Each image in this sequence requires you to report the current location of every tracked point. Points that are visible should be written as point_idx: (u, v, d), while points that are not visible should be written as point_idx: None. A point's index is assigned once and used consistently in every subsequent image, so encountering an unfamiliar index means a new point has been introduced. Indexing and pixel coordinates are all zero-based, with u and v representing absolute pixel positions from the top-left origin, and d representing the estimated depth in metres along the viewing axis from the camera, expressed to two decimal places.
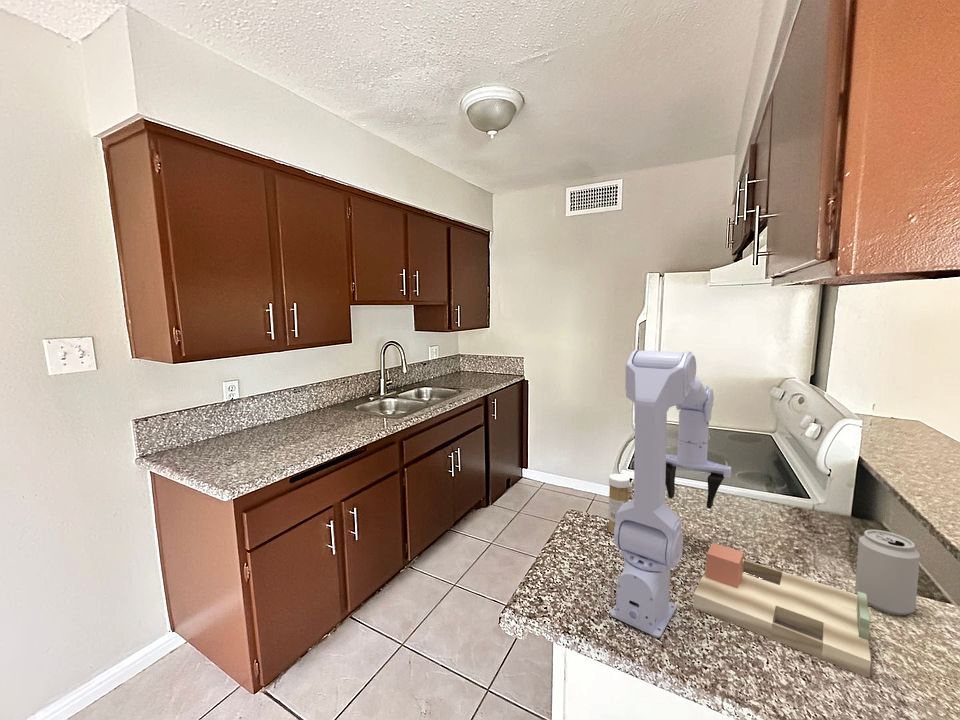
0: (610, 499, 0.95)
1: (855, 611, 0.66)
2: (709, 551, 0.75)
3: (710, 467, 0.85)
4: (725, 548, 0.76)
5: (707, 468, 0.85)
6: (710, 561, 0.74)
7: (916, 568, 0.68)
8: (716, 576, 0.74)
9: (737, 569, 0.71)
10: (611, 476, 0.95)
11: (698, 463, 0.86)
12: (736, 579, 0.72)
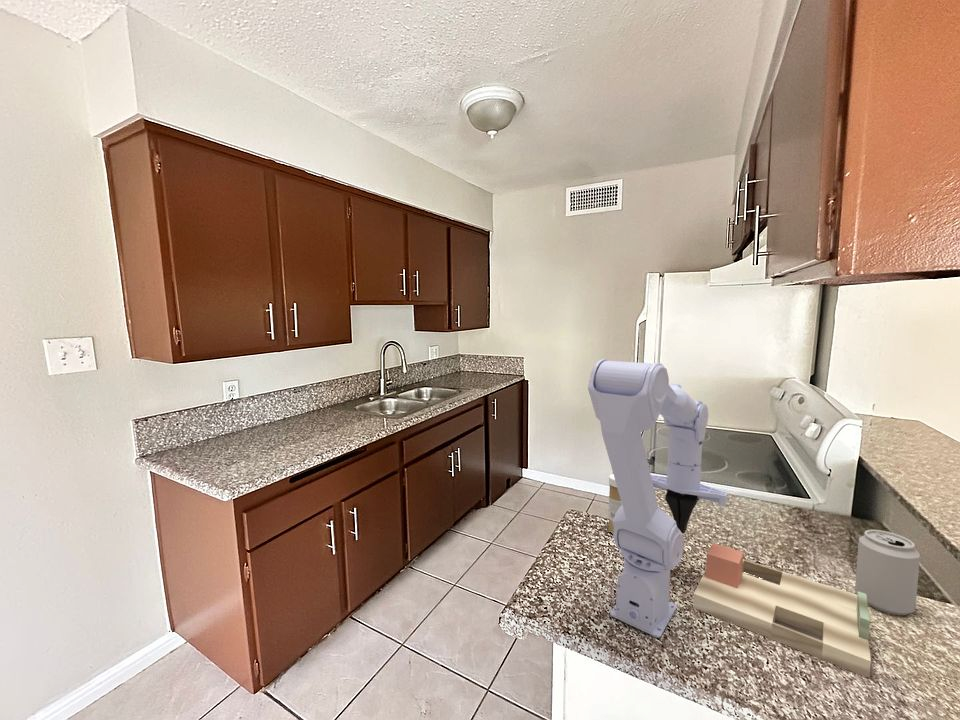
0: (610, 499, 0.95)
1: (855, 611, 0.66)
2: (709, 551, 0.75)
3: (703, 493, 0.75)
4: (725, 548, 0.76)
5: (700, 494, 0.75)
6: (710, 561, 0.74)
7: (916, 568, 0.68)
8: (716, 576, 0.74)
9: (737, 569, 0.71)
10: (611, 476, 0.95)
11: (690, 488, 0.76)
12: (736, 579, 0.72)
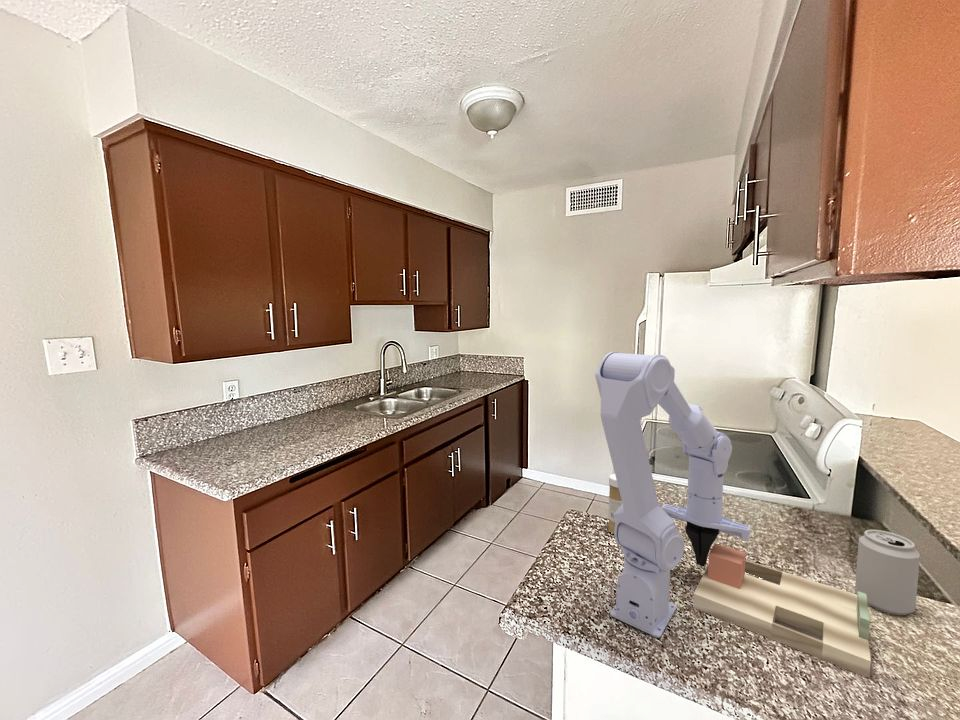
0: (610, 499, 0.95)
1: (855, 611, 0.66)
2: (711, 552, 0.75)
3: (726, 527, 0.73)
4: (727, 548, 0.76)
5: (722, 528, 0.73)
6: (712, 562, 0.74)
7: (916, 568, 0.68)
8: (718, 577, 0.73)
9: (739, 570, 0.71)
10: (611, 476, 0.95)
11: (711, 522, 0.74)
12: (738, 580, 0.71)
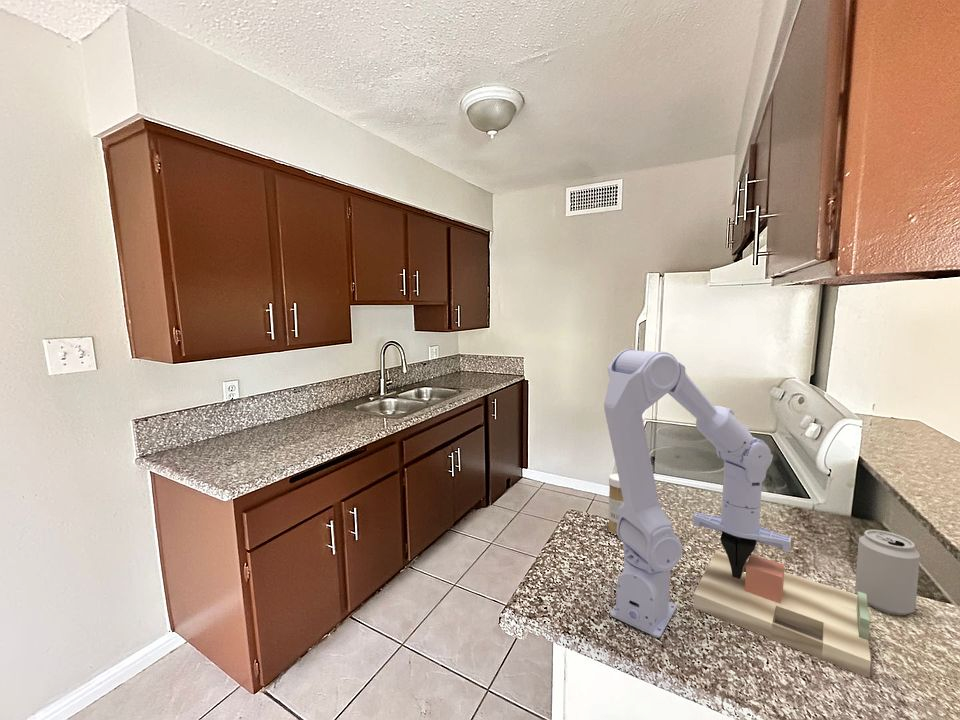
0: (610, 499, 0.95)
1: (855, 611, 0.66)
2: (748, 563, 0.71)
3: (765, 538, 0.69)
4: (764, 560, 0.72)
5: (761, 539, 0.69)
6: (749, 575, 0.70)
7: (916, 568, 0.68)
8: (756, 590, 0.70)
9: (780, 583, 0.68)
10: (611, 476, 0.95)
11: (749, 532, 0.70)
12: (779, 594, 0.68)
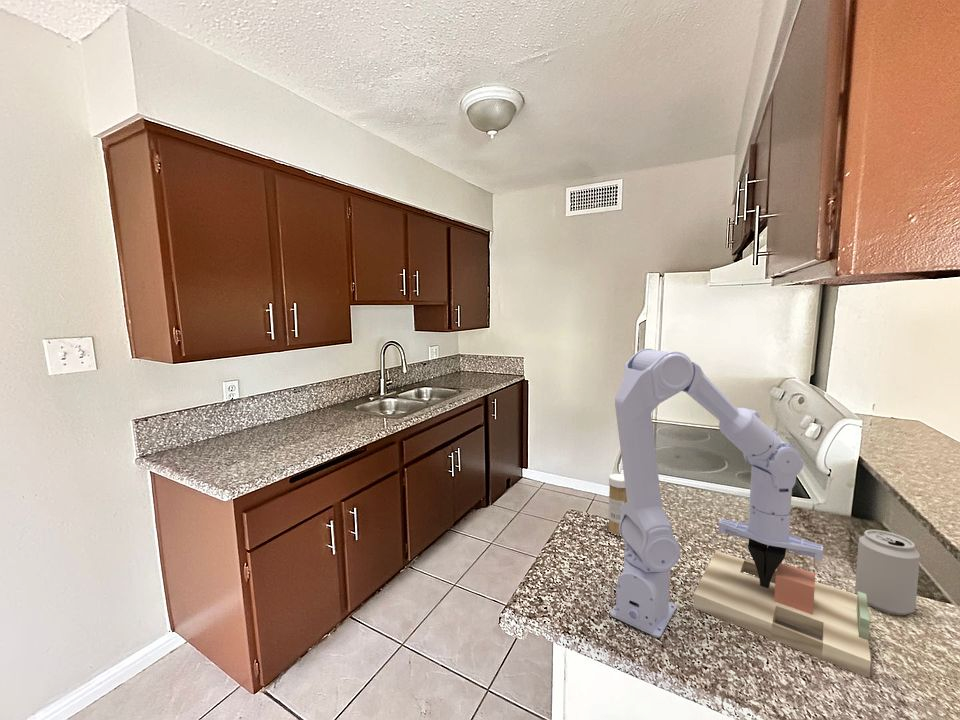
0: (610, 499, 0.95)
1: (855, 611, 0.66)
2: (778, 572, 0.69)
3: (796, 546, 0.66)
4: (794, 569, 0.70)
5: (792, 547, 0.67)
6: (779, 584, 0.68)
7: (916, 568, 0.68)
8: (787, 600, 0.67)
9: (812, 593, 0.65)
10: (611, 476, 0.95)
11: (779, 540, 0.67)
12: (811, 604, 0.65)
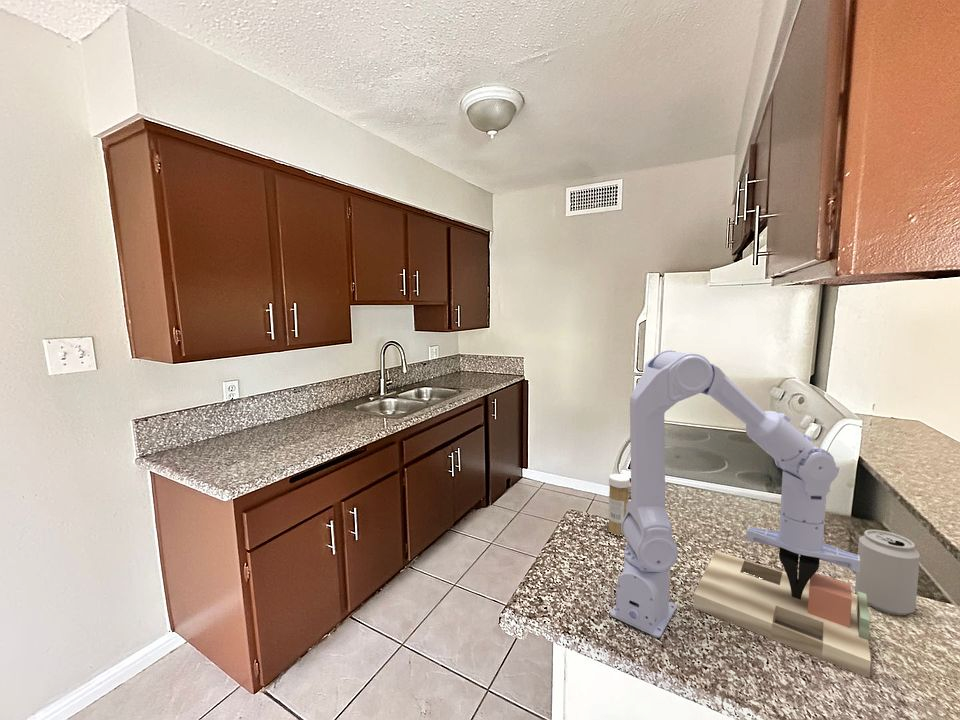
0: (610, 499, 0.95)
1: (855, 611, 0.66)
2: (811, 583, 0.66)
3: (831, 556, 0.64)
4: (827, 579, 0.67)
5: (827, 557, 0.64)
6: (813, 595, 0.65)
7: (916, 568, 0.68)
8: (821, 612, 0.64)
9: (849, 606, 0.62)
10: (611, 476, 0.95)
11: (813, 549, 0.65)
12: (848, 617, 0.62)
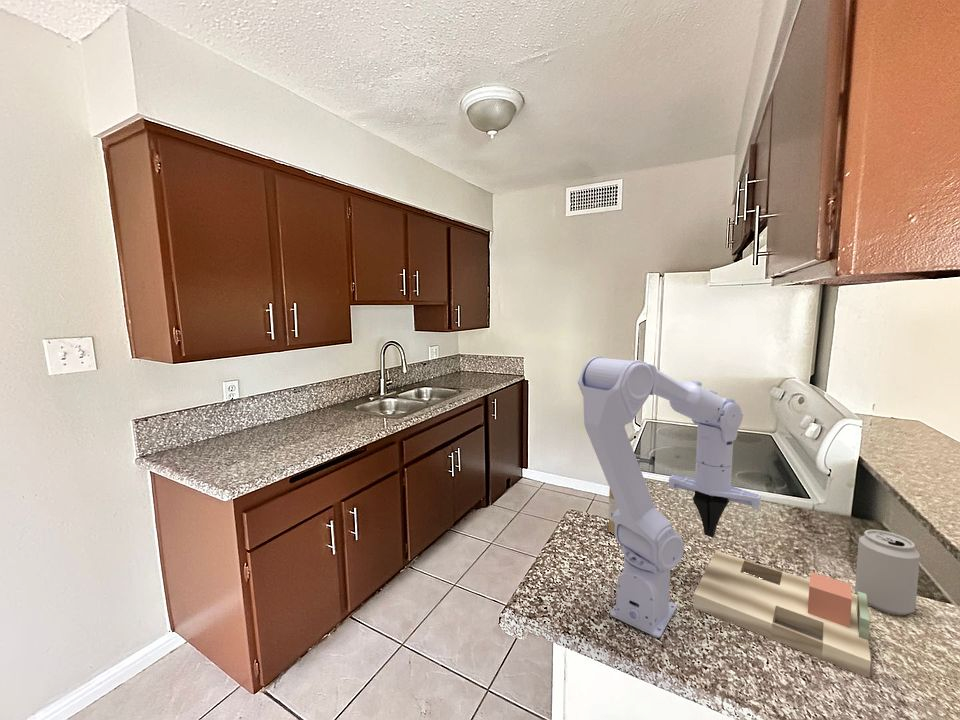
0: (610, 499, 0.95)
1: (855, 611, 0.66)
2: (811, 583, 0.66)
3: (735, 495, 0.71)
4: (827, 579, 0.67)
5: (731, 496, 0.71)
6: (813, 595, 0.65)
7: (916, 568, 0.68)
8: (821, 612, 0.64)
9: (849, 606, 0.62)
10: None
11: (720, 490, 0.72)
12: (848, 617, 0.62)
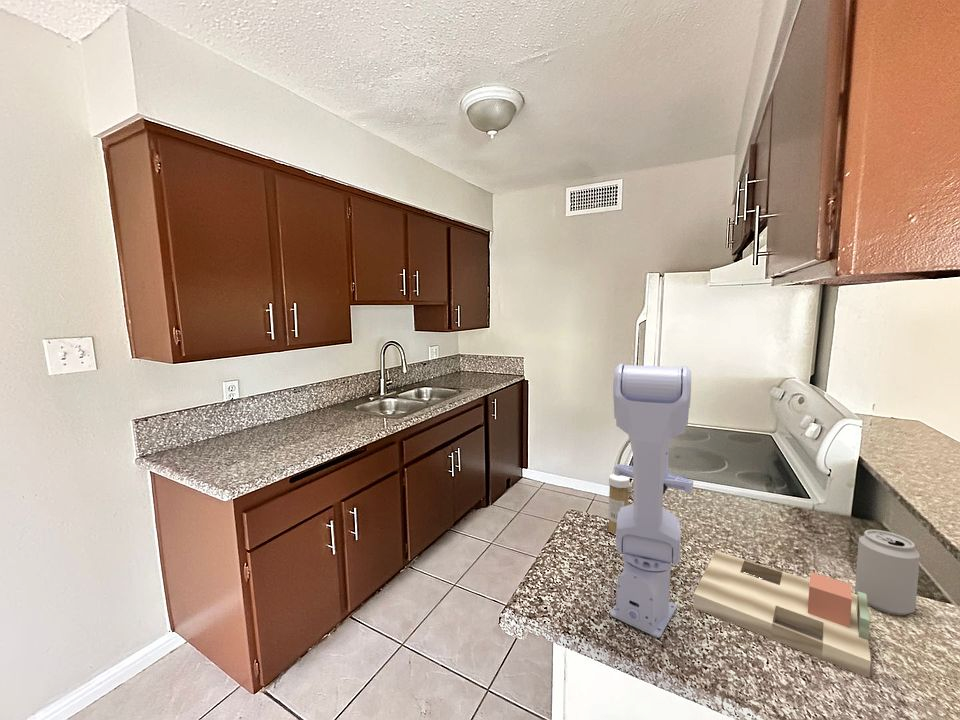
0: (610, 499, 0.95)
1: (855, 611, 0.66)
2: (811, 583, 0.66)
3: (670, 481, 0.78)
4: (827, 579, 0.67)
5: (667, 482, 0.78)
6: (813, 595, 0.65)
7: (916, 568, 0.68)
8: (821, 612, 0.64)
9: (849, 606, 0.62)
10: (611, 476, 0.95)
11: None
12: (848, 617, 0.62)
